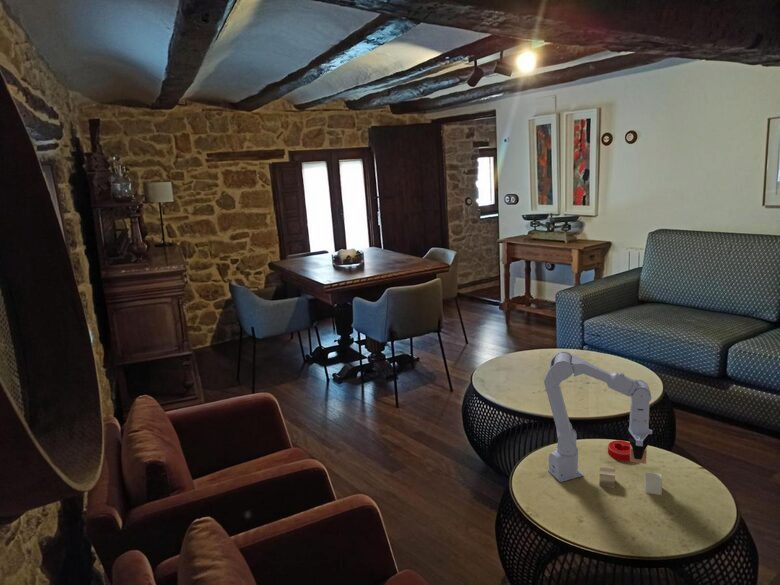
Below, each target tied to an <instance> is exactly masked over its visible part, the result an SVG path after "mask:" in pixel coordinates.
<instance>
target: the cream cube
mask: <svg viewBox="0 0 780 585" xmlns="http://www.w3.org/2000/svg"><path fill="white" fill-rule="evenodd" d="M662 491H663V478H662V473H656V472H650V471H649V472H648V471H645V472H644V492H645V493H646V494H652V495H659V496H662Z"/></svg>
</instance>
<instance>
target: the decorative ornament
mask: <svg viewBox="0 0 780 585" xmlns="http://www.w3.org/2000/svg"><path fill="white" fill-rule="evenodd" d="M607 455H608V456H609V457H611V458H612V459H614V460H617V461H621V462H630V441H629V442H628V441H626V440H617V439H616V440H613V441H610V442H609V443H608V445H607Z"/></svg>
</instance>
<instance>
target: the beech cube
mask: <svg viewBox="0 0 780 585" xmlns="http://www.w3.org/2000/svg"><path fill="white" fill-rule="evenodd" d="M598 481H599V482H598V484H599V485H598V486H600V487H605V486H607V487H606V488H611V487H615V486H616V467H612V466H605V465H599V480H598Z"/></svg>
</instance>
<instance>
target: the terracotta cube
mask: <svg viewBox="0 0 780 585" xmlns="http://www.w3.org/2000/svg"><path fill="white" fill-rule="evenodd" d="M647 451H648V450H647V447H646V448H645V450H644V453H643V457H642V459H641V460H640V459H635V458H634V453H633V448H632V446H631V444H630V461H629V462H630V463H635V464H644V465H646V464H647V454H648V453H647Z"/></svg>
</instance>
